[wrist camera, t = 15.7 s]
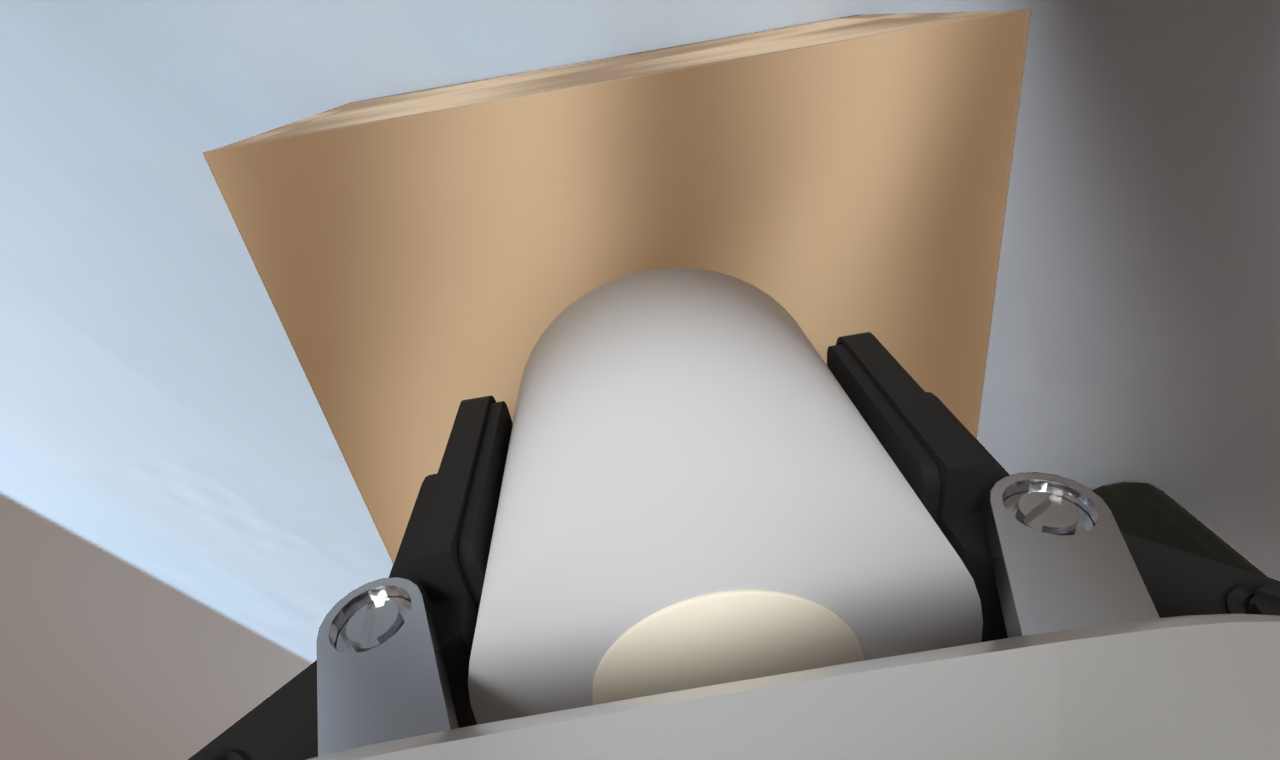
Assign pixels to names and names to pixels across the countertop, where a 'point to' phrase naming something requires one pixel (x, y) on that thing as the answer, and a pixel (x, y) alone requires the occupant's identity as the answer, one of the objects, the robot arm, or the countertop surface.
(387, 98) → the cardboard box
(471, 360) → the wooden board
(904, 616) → the cream-capped white cylinder
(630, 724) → the robot arm
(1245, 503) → the countertop surface
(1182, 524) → the sushi
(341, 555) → the countertop surface
